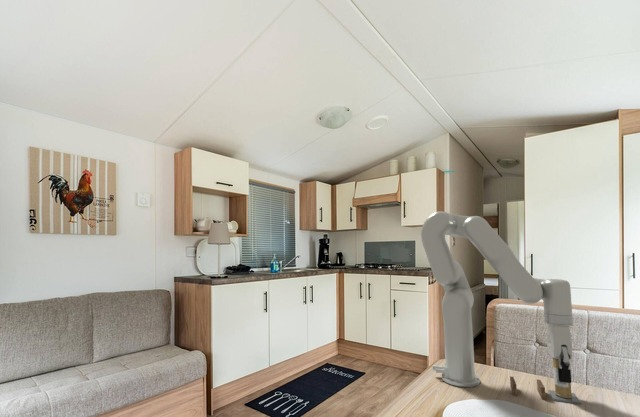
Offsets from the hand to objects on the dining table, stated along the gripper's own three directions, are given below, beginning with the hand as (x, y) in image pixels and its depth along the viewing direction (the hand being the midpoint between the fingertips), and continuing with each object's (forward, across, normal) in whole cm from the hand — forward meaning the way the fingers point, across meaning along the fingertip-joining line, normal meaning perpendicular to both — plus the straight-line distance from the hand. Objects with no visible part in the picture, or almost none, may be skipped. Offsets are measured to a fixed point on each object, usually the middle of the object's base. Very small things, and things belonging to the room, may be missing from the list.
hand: (562, 378), depth 112 cm
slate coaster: (+6, 0, 0) cm, 6 cm away
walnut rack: (+6, 0, -10) cm, 12 cm away
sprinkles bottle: (+5, 0, 0) cm, 5 cm away
